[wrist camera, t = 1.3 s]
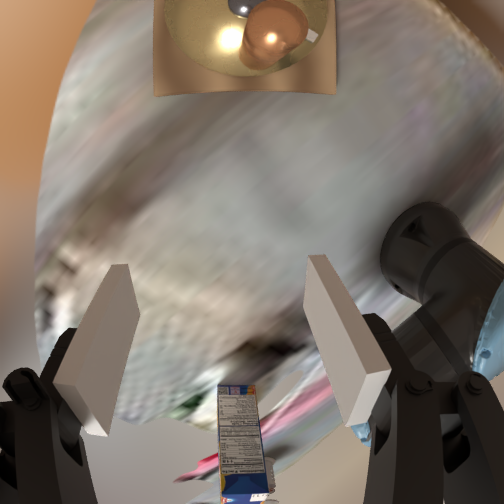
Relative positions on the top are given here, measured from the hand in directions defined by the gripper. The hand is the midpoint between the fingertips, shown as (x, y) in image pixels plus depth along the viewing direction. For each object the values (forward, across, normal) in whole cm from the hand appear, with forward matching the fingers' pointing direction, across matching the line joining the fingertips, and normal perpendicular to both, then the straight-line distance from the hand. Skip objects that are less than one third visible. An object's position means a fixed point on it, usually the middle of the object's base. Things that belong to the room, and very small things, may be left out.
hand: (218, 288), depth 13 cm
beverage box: (+25, 0, +44) cm, 51 cm away
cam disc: (+23, -3, -19) cm, 30 cm away
